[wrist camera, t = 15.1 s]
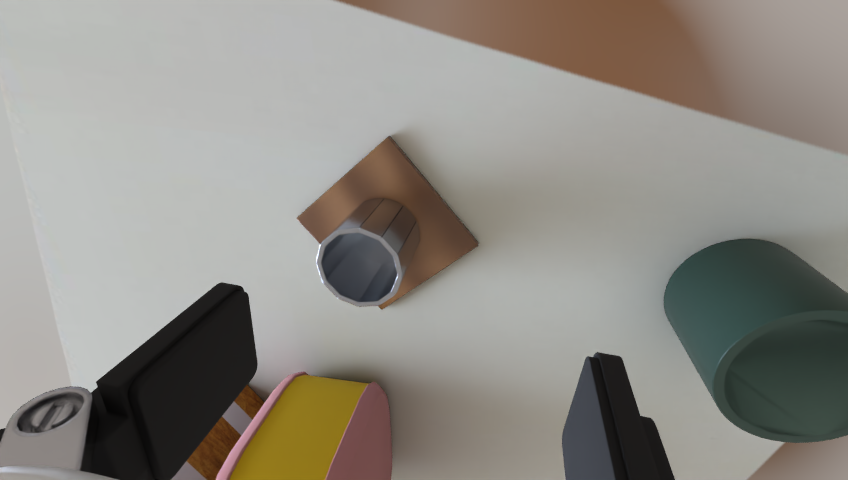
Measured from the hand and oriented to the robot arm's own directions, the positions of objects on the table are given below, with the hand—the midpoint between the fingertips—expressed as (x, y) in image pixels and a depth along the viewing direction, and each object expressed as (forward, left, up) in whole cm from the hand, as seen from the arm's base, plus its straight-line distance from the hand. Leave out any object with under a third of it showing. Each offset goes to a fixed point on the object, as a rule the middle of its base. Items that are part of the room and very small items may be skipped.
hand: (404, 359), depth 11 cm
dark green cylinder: (-9, +22, -25) cm, 35 cm away
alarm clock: (+31, +15, -26) cm, 43 cm away
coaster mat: (+11, 0, -25) cm, 28 cm away
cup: (+11, +1, -25) cm, 27 cm away
